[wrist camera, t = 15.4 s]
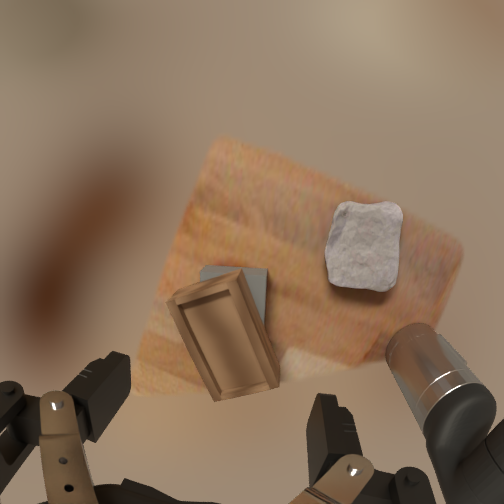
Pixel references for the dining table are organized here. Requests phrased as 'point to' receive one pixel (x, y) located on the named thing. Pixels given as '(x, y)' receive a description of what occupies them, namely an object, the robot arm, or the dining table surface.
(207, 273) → the base slab
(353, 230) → the stone block
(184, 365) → the dining table surface
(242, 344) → the tan open box
